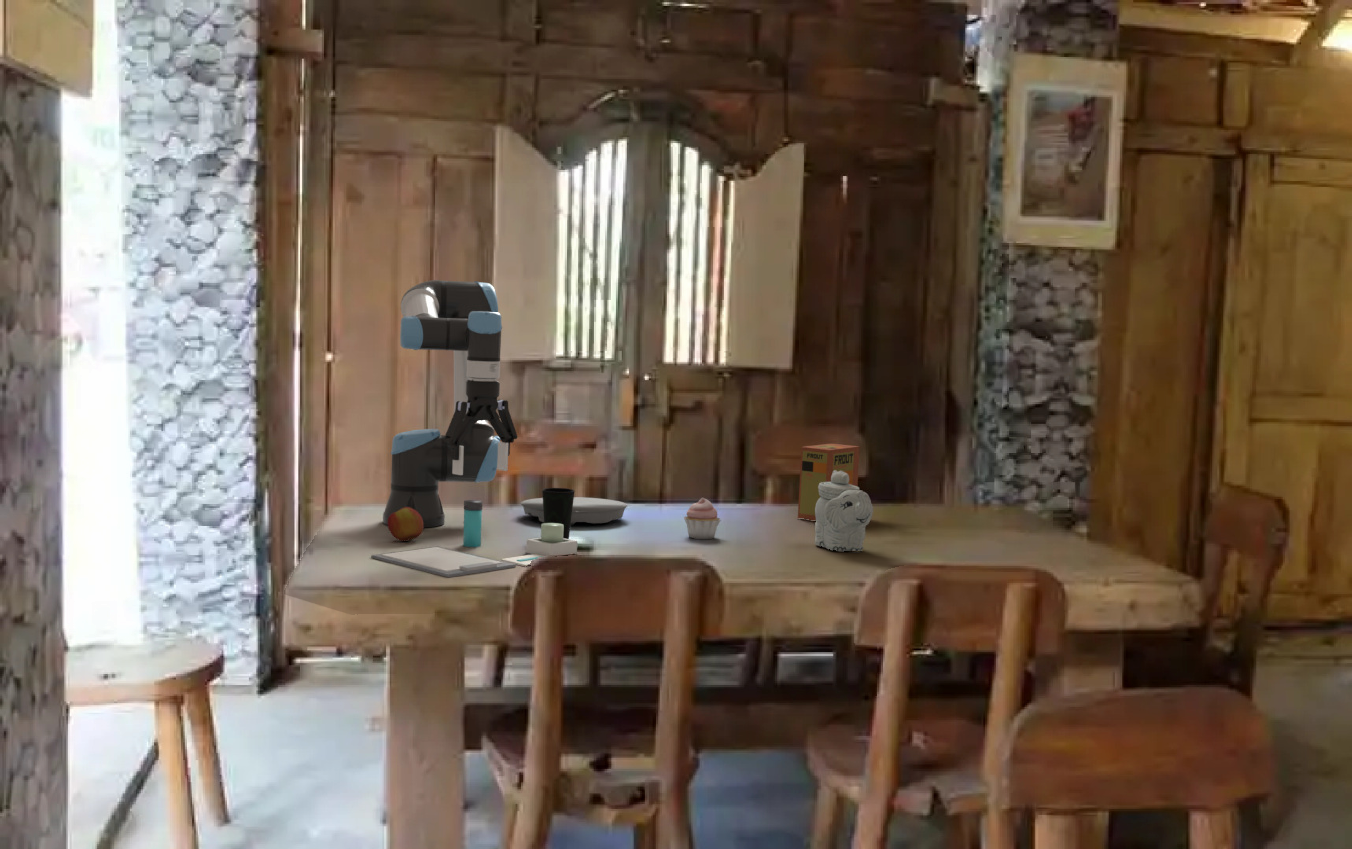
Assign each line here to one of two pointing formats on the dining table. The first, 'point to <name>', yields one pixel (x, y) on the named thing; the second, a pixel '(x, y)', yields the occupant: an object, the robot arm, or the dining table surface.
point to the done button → (552, 532)
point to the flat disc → (581, 509)
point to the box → (823, 472)
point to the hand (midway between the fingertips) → (480, 472)
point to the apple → (405, 524)
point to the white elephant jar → (841, 514)
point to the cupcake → (702, 520)
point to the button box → (551, 547)
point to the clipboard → (443, 561)
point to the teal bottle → (472, 523)
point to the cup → (558, 507)
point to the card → (522, 559)
